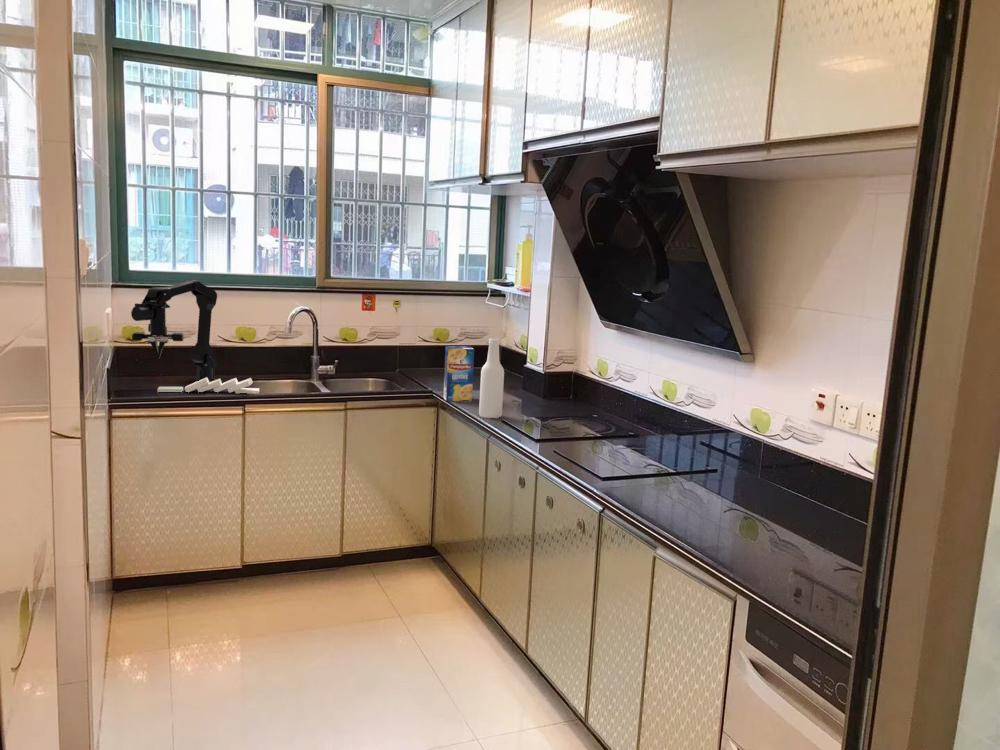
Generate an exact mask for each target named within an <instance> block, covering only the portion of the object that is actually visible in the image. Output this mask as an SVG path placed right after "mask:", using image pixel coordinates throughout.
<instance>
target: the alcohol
mask: <svg viewBox="0 0 1000 750" xmlns="http://www.w3.org/2000/svg"><path fill="white" fill-rule="evenodd" d="M504 381H505V370H504V367H503V365H502V364H501V362H500V339H499V338H495V337H494V338H493V337H492V338H489V339H488V351H487V358H486V361H485V364H483V365H482V367H481V370H480V386H479V405H478V406H479V407H478V414H479V416H480V417H481V418H484V419H490V418H495V419H499V417H500V418H501V417H502V416H503V402H504V401H503V399H504Z"/></svg>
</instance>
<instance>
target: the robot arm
mask: <svg viewBox="0 0 1000 750" xmlns="http://www.w3.org/2000/svg"><path fill="white" fill-rule="evenodd" d="M189 292H191V294H192V295H193V297H194V296H195V300H196V301H195V303H196V305H197V306H198V310H199V311H198V313H199V314H198V322H197V323H198V324H197V325H198V326H197V340H196V343H195V345H194V346H193V345H192V346H191V349H190V350H191V351H190V356H191V360H192V361H193V362H192V363H193V365H194V366H195V367H196V368H197V369H196V378H195V379H196V381H198V380H201V379H204V378H206V377H207V378H208V380H209V382H212V381H215V380H217V379H216V378H215V368H217V367H218V364H219V362H218V361H217V359H216V358H215V357H214V355H213V348H212V346H211V344H210V338H211V326H212V325H211V323H212V312H213V311H212V310H213V309H214V307H215V306H216V303H217V301H218V300H217V299H218V292H216V290H214V289H212V288H211V287H208V286H207V285H205V284H203V283H201V282H200V281H199V280H198V279H197V280H195V279H188V280H185V281H183V282H181V283H176V284H172V285H169V286H163V287H159V286H158V287H157V286H156V287H150V288H149V289H148V290H147V293H146V295H145V297H144V298H143V300H142V301H141V303H134V307H132V309H131V312H130V313H131V315H130V316H131V318H132V320H133V321H135V322H141V321H142V322H143V321H150V322H149V323H148V329H147V330H148V332H149V334H148V333H145V332H144V331H136V332H133V333H132V334H131V340H132V341H134V342H135V341H137V342H138V341H142V340H148V341H147V343H148V344H150V345H151V347H152V348H153V351H154V353H155V355H156V358H157V359H160V358H161V354H162V352H163V349H164V346H165V345H166V344H168V343H169V340H172V341H173V342H183V341H184V339H185V338H184V336H185V335H184V333H182V332H172V334H167V333H168V330H167V326H166V325H167V324H166V323H167V321H166V320H167V319H166V317H167V316H166V313H167V312H166V309H170V308H171V306H170V305H169V304H168V303H167V302H169V301H170V300H172V298H173V297H176V296H180V295H183V294H186V293H189ZM158 340H159V342H158ZM158 343H159V344H158Z"/></svg>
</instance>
